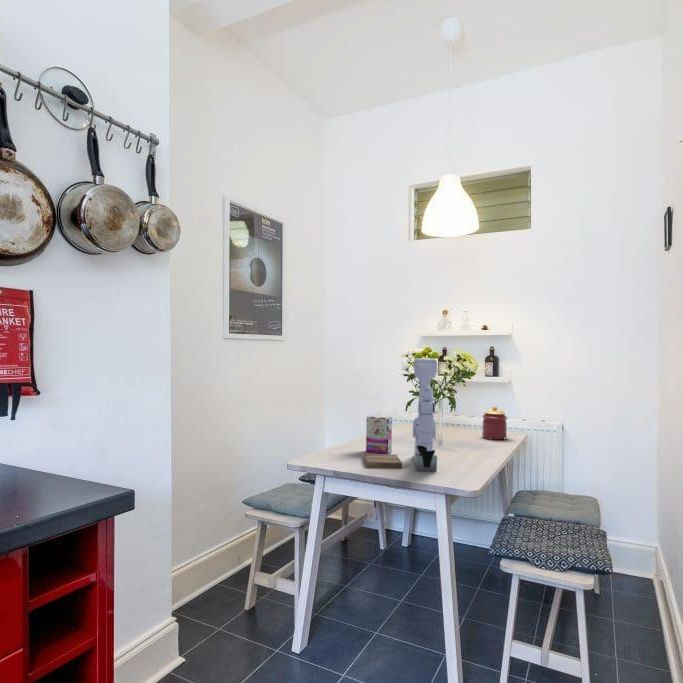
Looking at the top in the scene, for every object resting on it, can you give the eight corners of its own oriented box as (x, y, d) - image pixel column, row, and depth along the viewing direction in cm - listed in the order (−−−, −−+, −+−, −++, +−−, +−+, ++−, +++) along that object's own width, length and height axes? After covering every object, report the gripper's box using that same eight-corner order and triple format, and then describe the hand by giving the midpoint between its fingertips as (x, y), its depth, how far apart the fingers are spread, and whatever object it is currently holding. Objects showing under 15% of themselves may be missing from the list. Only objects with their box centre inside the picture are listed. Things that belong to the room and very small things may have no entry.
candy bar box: (392, 452, 225) (392, 417, 225) (387, 454, 221) (388, 418, 221) (369, 449, 230) (370, 415, 230) (365, 451, 226) (366, 416, 226)
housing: (414, 468, 196) (414, 451, 196) (433, 468, 197) (434, 451, 197) (416, 471, 191) (416, 454, 191) (436, 471, 192) (437, 454, 192)
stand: (363, 458, 211) (364, 454, 211) (396, 459, 212) (396, 454, 212) (367, 467, 195) (367, 462, 195) (402, 468, 196) (402, 463, 196)
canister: (479, 435, 276) (480, 404, 277) (502, 436, 276) (503, 405, 276) (485, 440, 264) (486, 407, 264) (509, 440, 263) (510, 408, 263)
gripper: (412, 428, 201) (412, 461, 201) (419, 434, 187) (418, 469, 187) (429, 428, 202) (429, 461, 201) (437, 434, 187) (437, 470, 187)
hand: (425, 465), depth 194 cm, fingers closed on housing, 5 cm apart
